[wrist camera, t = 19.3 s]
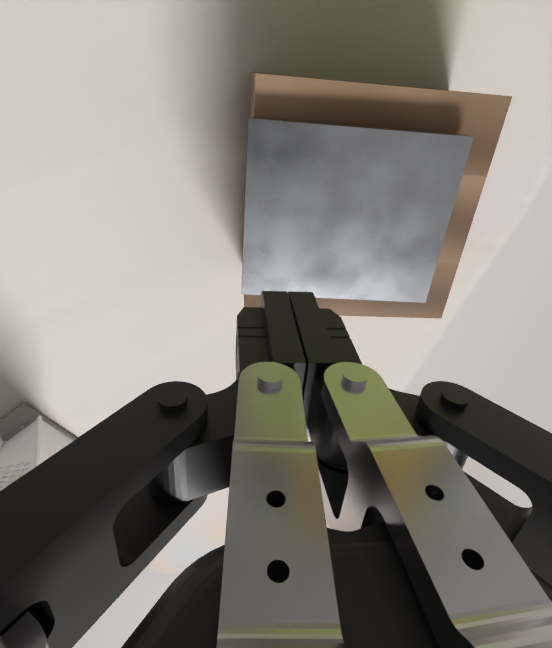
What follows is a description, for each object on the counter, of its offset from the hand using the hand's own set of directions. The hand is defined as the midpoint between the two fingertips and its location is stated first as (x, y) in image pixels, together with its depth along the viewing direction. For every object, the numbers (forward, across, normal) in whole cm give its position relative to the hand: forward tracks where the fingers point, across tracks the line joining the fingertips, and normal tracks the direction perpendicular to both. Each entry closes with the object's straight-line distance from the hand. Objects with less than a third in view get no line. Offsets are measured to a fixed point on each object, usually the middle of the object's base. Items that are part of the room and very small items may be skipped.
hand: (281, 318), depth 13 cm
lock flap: (+14, -6, +1) cm, 15 cm away
